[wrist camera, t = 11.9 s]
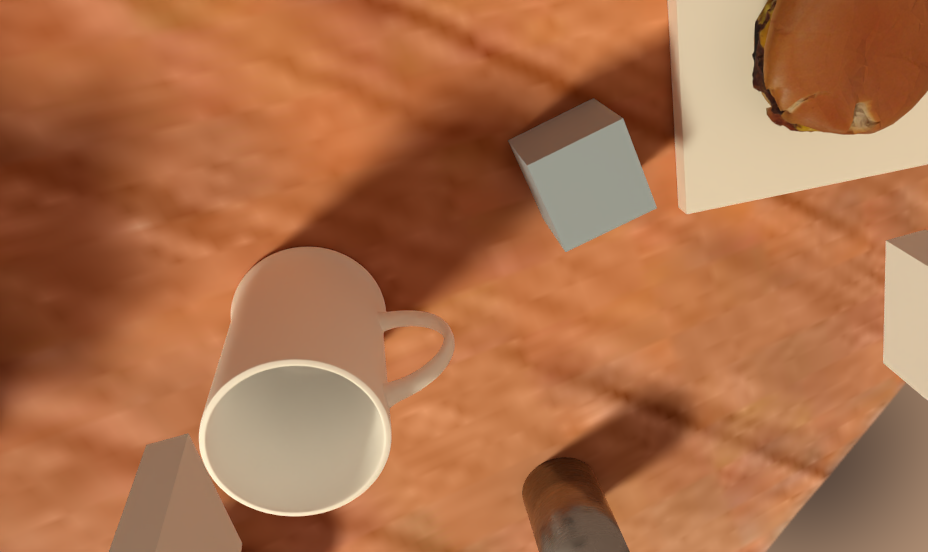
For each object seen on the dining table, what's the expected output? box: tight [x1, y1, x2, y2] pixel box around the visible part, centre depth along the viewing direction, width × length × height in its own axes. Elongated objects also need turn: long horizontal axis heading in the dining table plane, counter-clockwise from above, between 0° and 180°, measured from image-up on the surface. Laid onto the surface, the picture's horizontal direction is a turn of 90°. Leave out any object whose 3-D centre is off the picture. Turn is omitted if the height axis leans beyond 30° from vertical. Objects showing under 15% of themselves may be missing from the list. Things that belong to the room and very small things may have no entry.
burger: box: [752, 0, 928, 135], centre depth 38 cm, size 10×9×5 cm
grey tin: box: [522, 457, 629, 552], centre depth 48 cm, size 5×5×7 cm
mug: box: [199, 247, 455, 516], centre depth 39 cm, size 12×8×12 cm
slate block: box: [508, 98, 657, 252], centre depth 40 cm, size 5×5×5 cm
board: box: [668, 0, 928, 214], centre depth 41 cm, size 16×16×1 cm
